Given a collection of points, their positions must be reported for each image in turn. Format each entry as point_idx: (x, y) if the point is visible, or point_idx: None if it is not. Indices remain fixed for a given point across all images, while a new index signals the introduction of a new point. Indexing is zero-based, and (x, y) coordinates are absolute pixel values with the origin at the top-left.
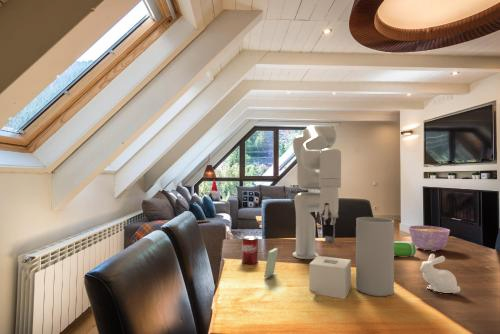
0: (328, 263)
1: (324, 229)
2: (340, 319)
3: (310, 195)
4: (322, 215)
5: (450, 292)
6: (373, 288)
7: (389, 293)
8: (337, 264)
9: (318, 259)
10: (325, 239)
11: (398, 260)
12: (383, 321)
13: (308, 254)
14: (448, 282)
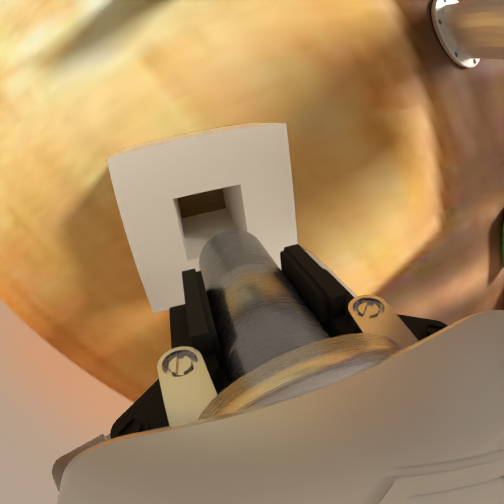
0: (174, 229)
1: (187, 305)
2: (42, 297)
3: None
4: (238, 408)
5: None
6: None
7: None
8: (186, 268)
9: (213, 156)
10: (212, 249)
11: (488, 251)
12: (105, 359)
13: (453, 39)
14: None
